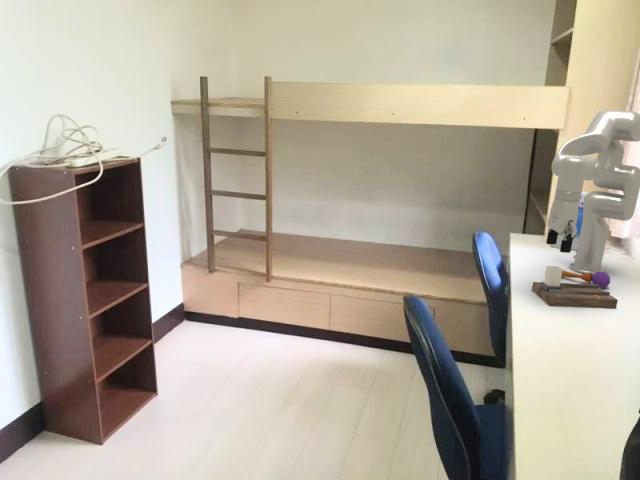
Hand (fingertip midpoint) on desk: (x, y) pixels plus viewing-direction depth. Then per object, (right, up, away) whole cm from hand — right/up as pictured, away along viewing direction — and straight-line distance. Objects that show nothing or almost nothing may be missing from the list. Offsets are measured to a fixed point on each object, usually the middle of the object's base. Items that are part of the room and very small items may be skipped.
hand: (557, 248), depth 171 cm
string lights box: (+35, -1, +68) cm, 76 cm away
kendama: (+18, -13, +23) cm, 32 cm away
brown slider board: (+7, -17, +5) cm, 20 cm away
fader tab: (0, -14, +4) cm, 15 cm away
